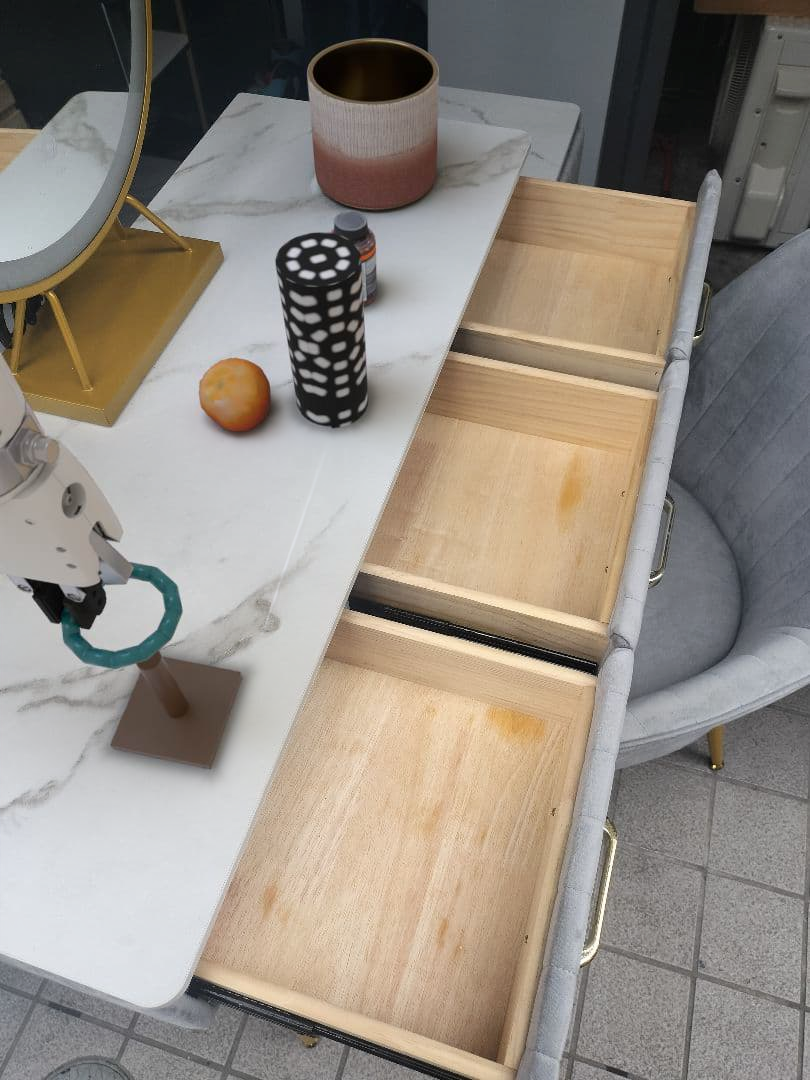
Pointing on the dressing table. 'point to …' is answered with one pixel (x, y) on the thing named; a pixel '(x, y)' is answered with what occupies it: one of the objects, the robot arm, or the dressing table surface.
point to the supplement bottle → (360, 248)
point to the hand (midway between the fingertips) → (79, 608)
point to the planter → (374, 122)
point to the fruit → (235, 394)
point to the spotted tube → (325, 326)
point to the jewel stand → (177, 711)
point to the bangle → (145, 648)
